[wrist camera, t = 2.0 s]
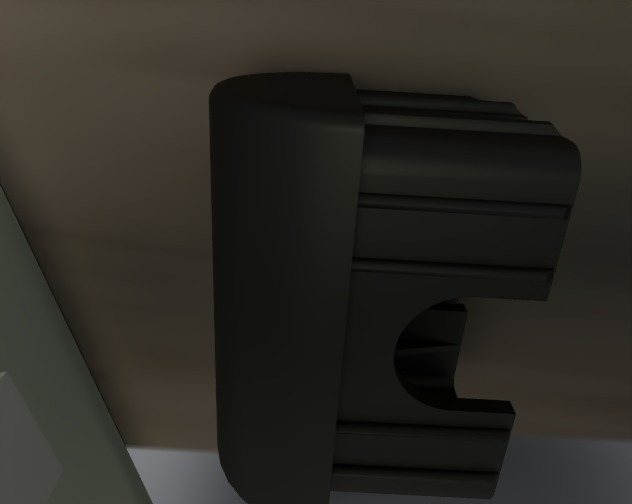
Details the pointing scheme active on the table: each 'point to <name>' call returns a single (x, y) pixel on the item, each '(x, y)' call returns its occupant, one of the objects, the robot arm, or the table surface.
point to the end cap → (369, 279)
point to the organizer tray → (58, 382)
